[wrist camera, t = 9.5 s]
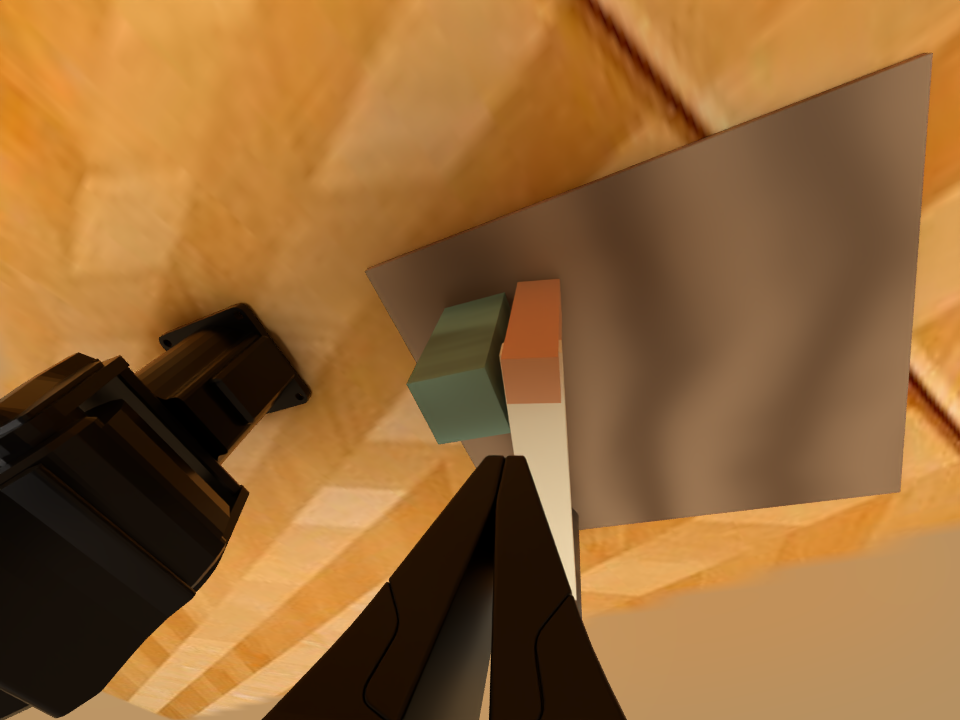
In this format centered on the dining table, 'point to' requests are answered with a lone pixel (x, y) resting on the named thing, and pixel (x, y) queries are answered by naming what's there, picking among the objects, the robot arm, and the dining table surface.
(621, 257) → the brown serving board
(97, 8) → the dining table surface
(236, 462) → the dining table surface
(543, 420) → the orange and cream block
